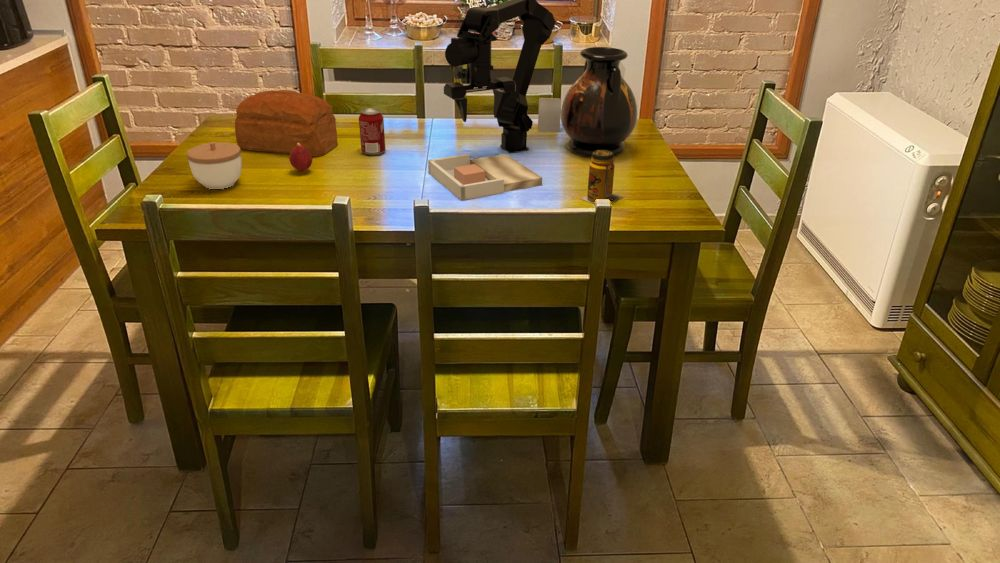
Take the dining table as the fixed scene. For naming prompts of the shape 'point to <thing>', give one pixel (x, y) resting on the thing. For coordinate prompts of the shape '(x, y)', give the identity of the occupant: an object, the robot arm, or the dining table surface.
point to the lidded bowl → (215, 164)
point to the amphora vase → (599, 105)
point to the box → (445, 175)
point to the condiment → (601, 177)
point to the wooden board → (508, 172)
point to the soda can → (372, 131)
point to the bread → (285, 123)
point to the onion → (300, 158)
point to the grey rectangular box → (549, 115)
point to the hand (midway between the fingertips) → (480, 119)
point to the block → (469, 174)
